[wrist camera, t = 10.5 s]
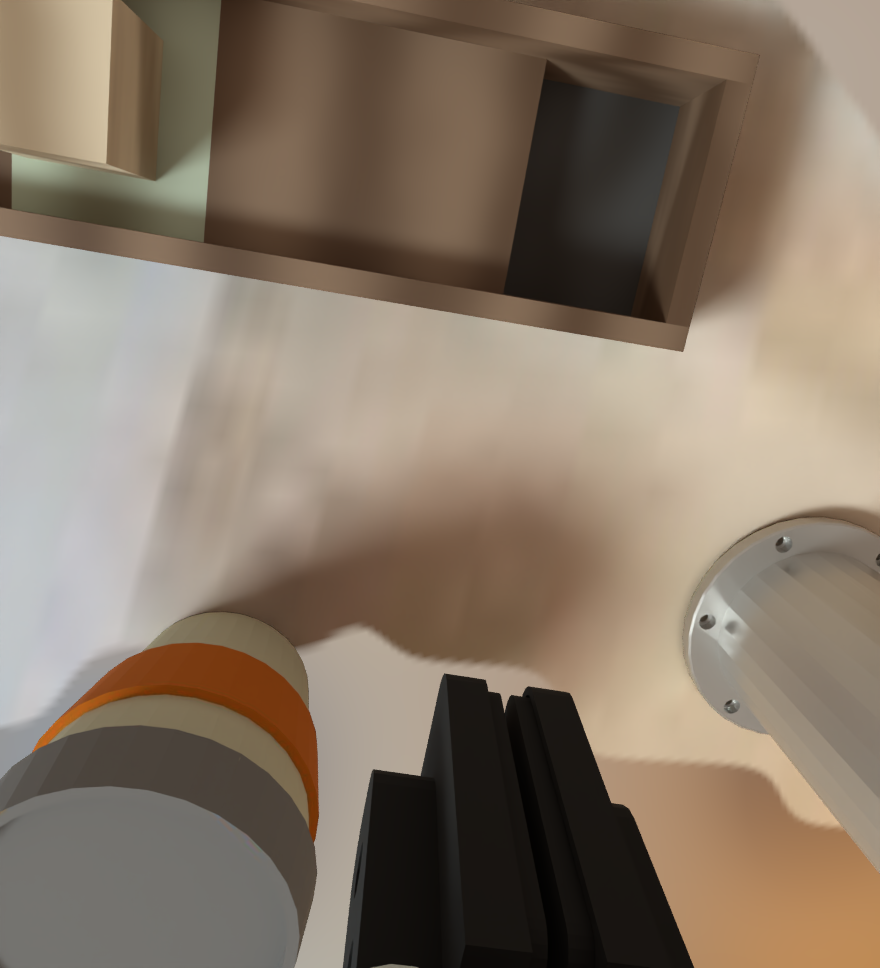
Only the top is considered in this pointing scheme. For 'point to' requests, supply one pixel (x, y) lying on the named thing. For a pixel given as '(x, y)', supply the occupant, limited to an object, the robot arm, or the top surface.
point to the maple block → (80, 85)
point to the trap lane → (422, 160)
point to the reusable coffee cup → (168, 811)
